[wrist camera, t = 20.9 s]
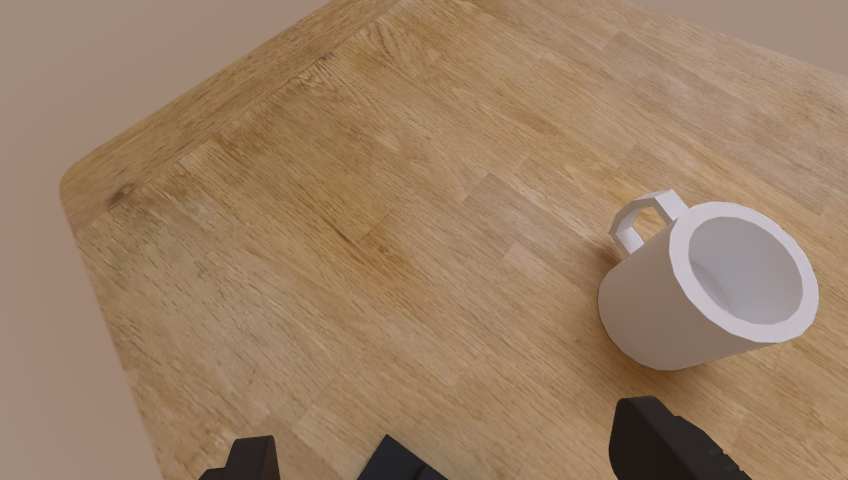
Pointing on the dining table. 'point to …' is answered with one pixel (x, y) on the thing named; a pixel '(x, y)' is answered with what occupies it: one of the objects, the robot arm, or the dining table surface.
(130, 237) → the dining table surface
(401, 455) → the socket pad
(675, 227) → the mug
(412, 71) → the dining table surface
